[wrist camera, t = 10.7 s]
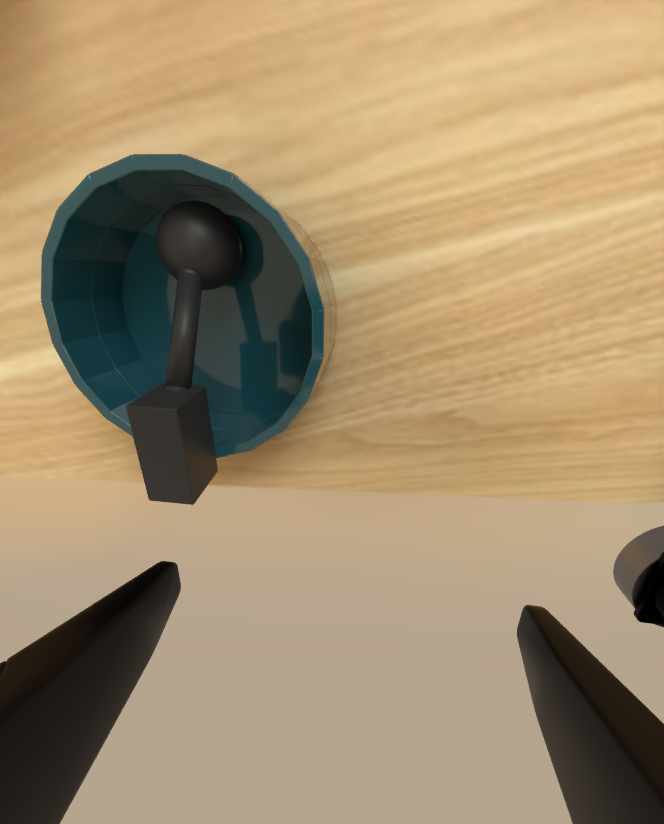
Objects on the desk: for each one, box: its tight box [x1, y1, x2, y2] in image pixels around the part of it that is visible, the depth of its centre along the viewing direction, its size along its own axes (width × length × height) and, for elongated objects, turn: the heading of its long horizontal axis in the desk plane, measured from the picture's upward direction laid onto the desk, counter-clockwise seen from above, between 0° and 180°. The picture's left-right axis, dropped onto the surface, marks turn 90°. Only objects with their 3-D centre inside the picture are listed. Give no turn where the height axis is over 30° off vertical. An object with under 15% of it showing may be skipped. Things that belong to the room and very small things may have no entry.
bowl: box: [41, 154, 337, 458], centre depth 17 cm, size 12×12×5 cm
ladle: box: [126, 201, 242, 505], centre depth 16 cm, size 12×4×8 cm, turn 178°
